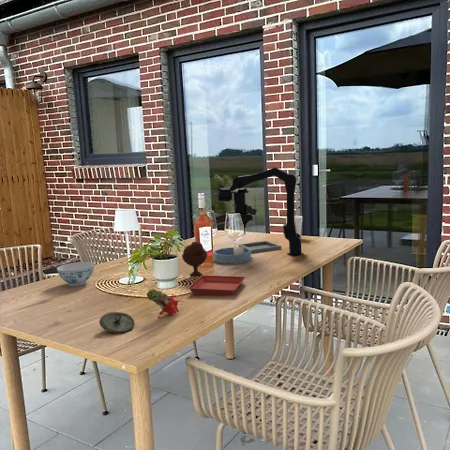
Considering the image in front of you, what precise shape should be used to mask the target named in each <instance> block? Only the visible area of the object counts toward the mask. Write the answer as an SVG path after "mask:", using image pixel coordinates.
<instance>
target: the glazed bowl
mask: <svg viewBox="0 0 450 450" xmlns="http://www.w3.org/2000/svg"><path fill="white" fill-rule="evenodd" d="M236 247H237V246H235V247H234V246H233V247H232V246H231V247H230V246H228V247H223V248H219V249H215V250H213V252H212V254H213V255H212V257H213V261H214V262H215V263H217V264H227V263H235V264H240V263H241V262H242V263H246V262H249V261H251V259H252V253H251V249H248V248H243V251H244V253H243V254H237V255H234V248H236Z"/></svg>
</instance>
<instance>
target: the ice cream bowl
mask: <svg viewBox="0 0 450 450" xmlns="http://www.w3.org/2000/svg"><path fill="white" fill-rule="evenodd" d="M181 257H182V260H183V261H184V263H186V264H187V265H188V266H189V267H193V271H192V272H191V273H190V274H189V277H191V278H200V277H201V276H203V273H202V272H199V270H198V267H200V266H202V265H203V264H204V263H205V261H206V259H207V258H208V252H207V251H206V249H205V248H204V246H203V244H202V242H200V241H198V240H196V241H192V242H191V244H188V245H186V246H185V247H184V249H183V253H182V254H181Z"/></svg>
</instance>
